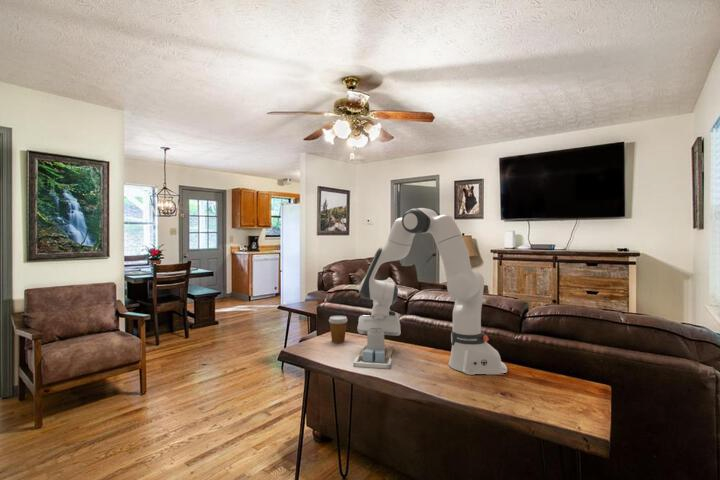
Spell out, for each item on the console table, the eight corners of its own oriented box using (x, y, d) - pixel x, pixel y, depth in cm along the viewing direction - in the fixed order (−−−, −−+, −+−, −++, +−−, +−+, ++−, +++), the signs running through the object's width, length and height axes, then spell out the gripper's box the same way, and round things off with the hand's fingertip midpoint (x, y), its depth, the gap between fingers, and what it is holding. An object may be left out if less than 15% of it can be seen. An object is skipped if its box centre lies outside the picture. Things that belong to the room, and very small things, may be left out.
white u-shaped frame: (391, 361, 152) (391, 358, 152) (389, 368, 144) (389, 364, 144) (357, 359, 155) (357, 356, 155) (353, 366, 147) (353, 362, 147)
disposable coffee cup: (347, 344, 177) (347, 319, 176) (327, 344, 177) (327, 319, 177) (348, 338, 186) (348, 315, 186) (329, 338, 186) (329, 315, 186)
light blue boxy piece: (383, 358, 156) (383, 349, 156) (384, 362, 152) (384, 352, 152) (374, 359, 156) (374, 349, 155) (375, 362, 152) (375, 352, 151)
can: (365, 357, 157) (364, 330, 157) (370, 352, 164) (370, 326, 164) (381, 359, 154) (381, 332, 154) (386, 354, 161) (386, 327, 161)
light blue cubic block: (374, 358, 156) (374, 349, 156) (372, 362, 152) (372, 352, 152) (365, 358, 157) (365, 348, 157) (363, 361, 153) (363, 351, 153)
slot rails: (393, 349, 168) (393, 346, 168) (389, 361, 152) (389, 357, 152) (365, 348, 170) (365, 344, 170) (359, 359, 155) (359, 356, 154)
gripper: (358, 311, 173) (354, 337, 163) (401, 313, 169) (399, 340, 159) (360, 318, 177) (356, 344, 168) (401, 320, 173) (400, 346, 164)
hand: (377, 342), depth 163 cm, fingers closed, pressing on can
